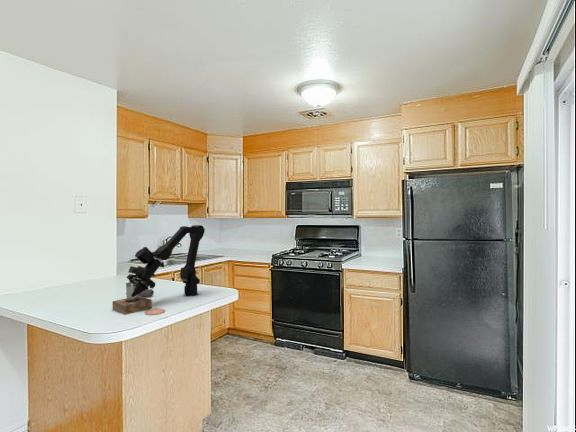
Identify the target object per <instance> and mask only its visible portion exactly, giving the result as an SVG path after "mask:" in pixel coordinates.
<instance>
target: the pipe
mask: <svg viewBox="0 0 576 432" xmlns="http://www.w3.org/2000/svg"><path fill="white" fill-rule="evenodd" d="M154 293H155V292H154V290H153V289H152V288H149V289H147V290H145V291H143V292H141V293H139V294H138V296H141V297H152V296H154Z"/></svg>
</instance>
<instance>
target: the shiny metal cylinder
mask: <svg viewBox="0 0 576 432" xmlns="http://www.w3.org/2000/svg"><path fill="white" fill-rule="evenodd" d="M136 287H137V282H130V281H129V282H126V283H125V290H126V291H125V292H126V293H125V294H126V298H127V302H128V303H130V302H135V301H138V295H136V296H134V297H132V296H131V295H132V293H133V292H134V290H135V289H136Z"/></svg>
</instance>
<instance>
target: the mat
mask: <svg viewBox="0 0 576 432" xmlns="http://www.w3.org/2000/svg"><path fill="white" fill-rule="evenodd" d="M165 312H166V309H165V308H153V309H152V308H150V309H147V310H146V311H145V312H144V315H145V316H146V315H147V316H157V315H161V314H165Z"/></svg>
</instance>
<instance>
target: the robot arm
mask: <svg viewBox="0 0 576 432" xmlns="http://www.w3.org/2000/svg"><path fill="white" fill-rule="evenodd" d="M205 230H206V229H205V227H204V226H203V225H199V224H194V225H191V226H187V225H184V226H183V225H182V226H179V229H177V231H176V232H175V233H174V235H172V236H171V238H169V239H168V241H166V243H165V244H163V245H160V246H159V247H158V248H157V249H156V250H154V251H151V250H150V249H149V248H148V247H147V246H143V248H141V249H139V250H137V252H136V253H135V255H134V257H135V259H137V260H138V261H140V262H141V263H142V264H143V265H145V266H144V267H143V266H139V265H138V266H137V267H136V266H131V265H130V267H129V269H128V271H127V273H128V275H127V276H126V279H127V280H128V281H129V282H137V287H136V289H135V290H134V292H133V293H132V295H131V296H132V297H134V296H136V295H138V294H139V293H141V292H143V291H145V290H147V289H152V290H153V289H154V288H155V287H156V282H155V281H154V280H152V279H151V278H152V277H155V276H156V274H155V273H157V271H158V269H159V268H165V264H164V261H167V260H169V258H170V256H171V255H172V254H173V250H174V249H175V247H177V245H178V244H179V243H180V242H181V241H182V240H183V238H184V237H186V235H187V234H189V235H188V236H189V238H190V241H189V242H190V243H189V246H188V252H187V257H186V261H185V265H184V266H183V267H181V268H180V273H179V278H180V279H181V280H182V283H183V284H184V286H183V287H184V291H183V293H184V295H185V297H188V296H189V297H190V296H198V295H199V293H198V285H199V284H200V282H201V280H200V278H199V277H198V276H197V270H196V262H197V261H196V260H197V256H198V250H199V245H200V241H201V240H202V239H203V237H204V234H205V232H206V231H205Z"/></svg>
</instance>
